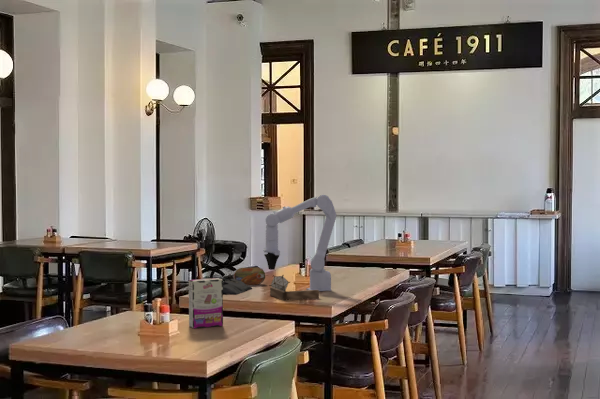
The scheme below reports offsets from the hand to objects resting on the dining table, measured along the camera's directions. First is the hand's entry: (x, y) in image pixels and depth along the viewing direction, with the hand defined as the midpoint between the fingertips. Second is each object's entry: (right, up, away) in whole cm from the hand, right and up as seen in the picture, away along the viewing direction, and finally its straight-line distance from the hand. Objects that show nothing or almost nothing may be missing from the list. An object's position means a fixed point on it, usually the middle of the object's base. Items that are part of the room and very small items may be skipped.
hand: (271, 269), depth 358 cm
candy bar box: (-20, -12, -89) cm, 92 cm away
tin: (-11, -9, +18) cm, 23 cm away
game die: (+4, -10, -8) cm, 14 cm away
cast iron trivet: (-19, -10, -4) cm, 22 cm away
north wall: (+13, -10, -27) cm, 31 cm away
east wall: (+4, -10, -24) cm, 26 cm away
